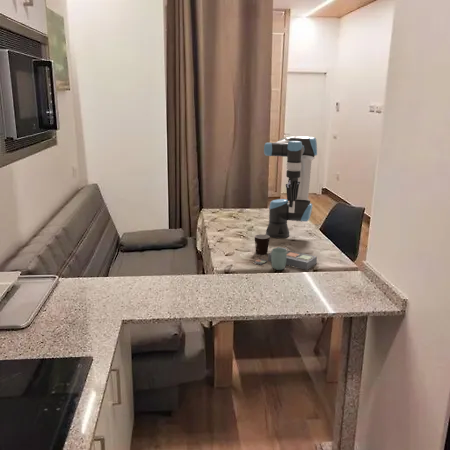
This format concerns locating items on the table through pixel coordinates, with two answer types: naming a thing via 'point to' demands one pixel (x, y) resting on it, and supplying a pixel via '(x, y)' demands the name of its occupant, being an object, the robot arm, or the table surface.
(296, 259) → the keypad
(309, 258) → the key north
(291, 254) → the key mid
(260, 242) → the coffee mug
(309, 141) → the robot arm
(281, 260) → the cup
